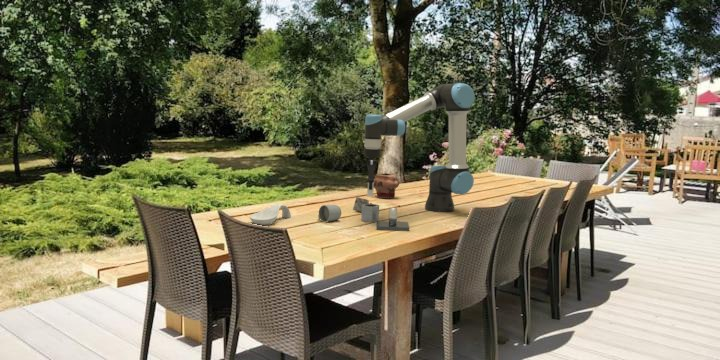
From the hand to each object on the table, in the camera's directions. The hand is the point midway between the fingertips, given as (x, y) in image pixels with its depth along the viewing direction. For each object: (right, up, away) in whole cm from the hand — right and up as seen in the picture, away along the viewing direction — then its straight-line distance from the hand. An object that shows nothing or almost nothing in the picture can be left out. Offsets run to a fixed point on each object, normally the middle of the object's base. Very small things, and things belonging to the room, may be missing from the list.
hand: (370, 194), depth 261 cm
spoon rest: (-44, -12, -8) cm, 47 cm away
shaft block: (+9, -14, -13) cm, 21 cm away
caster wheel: (-1, -9, +24) cm, 26 cm away
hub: (0, -12, +2) cm, 12 cm away
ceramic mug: (-19, -12, -2) cm, 23 cm away
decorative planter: (+9, -4, +69) cm, 70 cm away
